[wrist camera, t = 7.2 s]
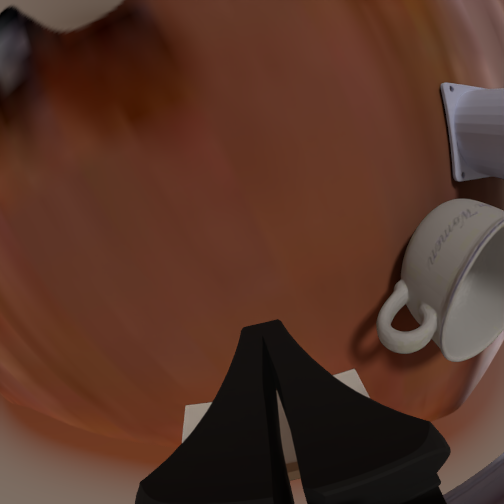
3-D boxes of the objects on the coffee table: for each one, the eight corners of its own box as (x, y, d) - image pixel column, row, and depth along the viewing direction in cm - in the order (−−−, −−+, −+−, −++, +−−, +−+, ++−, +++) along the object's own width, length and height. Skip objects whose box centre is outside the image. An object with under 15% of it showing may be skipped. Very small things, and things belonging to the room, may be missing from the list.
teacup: (478, 187, 18) (546, 209, 11) (465, 295, 22) (515, 337, 15) (343, 201, 18) (412, 237, 11) (345, 333, 22) (385, 404, 14)
